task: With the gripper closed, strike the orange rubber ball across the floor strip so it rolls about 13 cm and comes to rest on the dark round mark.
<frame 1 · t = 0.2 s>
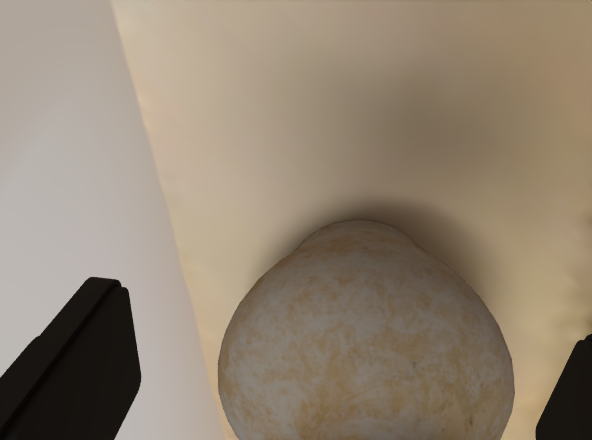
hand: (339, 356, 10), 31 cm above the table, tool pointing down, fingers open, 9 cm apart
vase: (358, 278, 47), on the table
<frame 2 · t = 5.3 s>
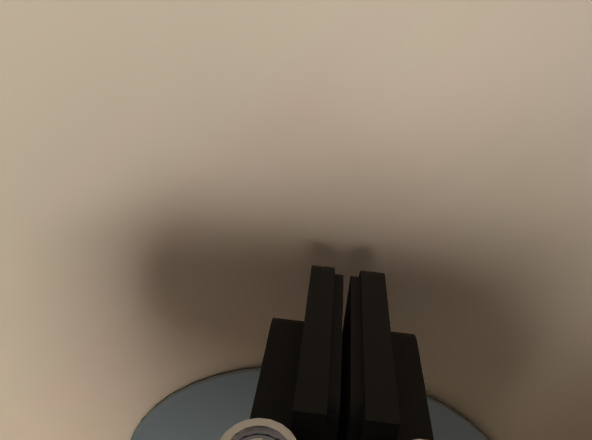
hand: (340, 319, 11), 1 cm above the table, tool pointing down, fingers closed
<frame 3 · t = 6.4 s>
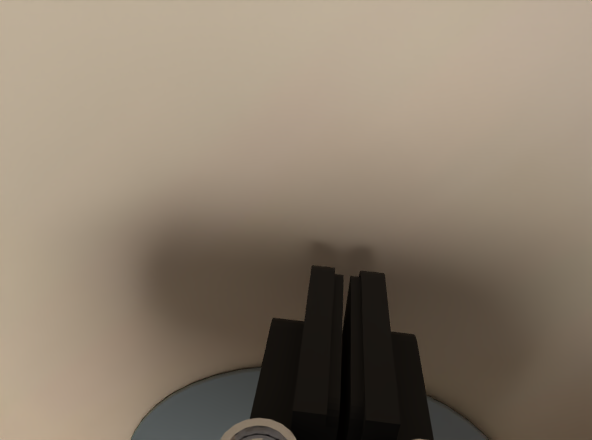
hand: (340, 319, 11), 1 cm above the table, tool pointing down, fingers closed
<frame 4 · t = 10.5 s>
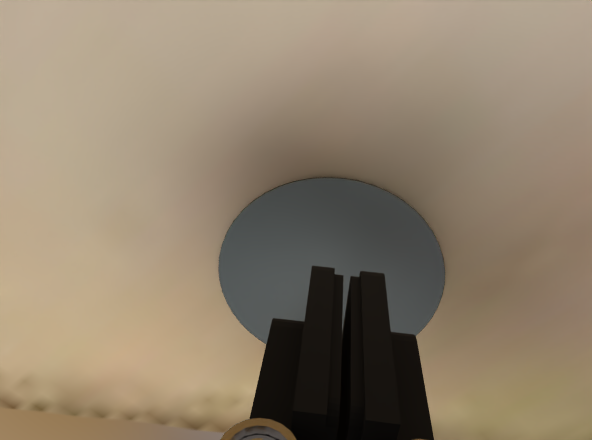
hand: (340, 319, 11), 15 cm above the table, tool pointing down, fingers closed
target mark: (328, 280, 29), on the table
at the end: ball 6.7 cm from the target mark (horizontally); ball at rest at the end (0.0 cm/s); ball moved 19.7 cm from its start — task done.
